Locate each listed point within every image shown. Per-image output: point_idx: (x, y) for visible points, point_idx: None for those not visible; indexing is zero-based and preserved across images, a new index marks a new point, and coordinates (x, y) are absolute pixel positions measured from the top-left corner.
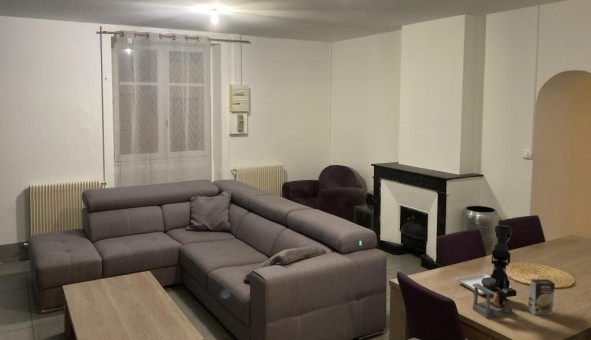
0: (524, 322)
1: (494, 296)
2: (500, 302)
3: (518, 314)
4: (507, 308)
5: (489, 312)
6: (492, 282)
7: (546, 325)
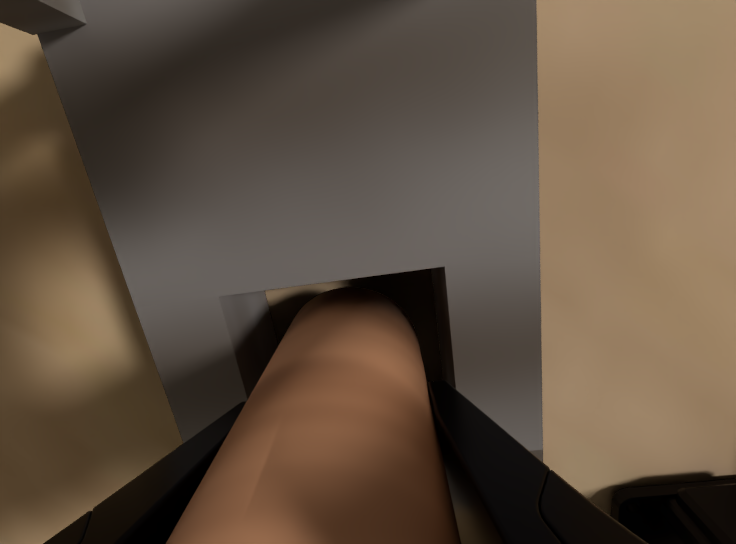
0: (19, 455)
1: (284, 464)
2: (186, 446)
3: None
4: None
5: (59, 50)
6: None
7: None
